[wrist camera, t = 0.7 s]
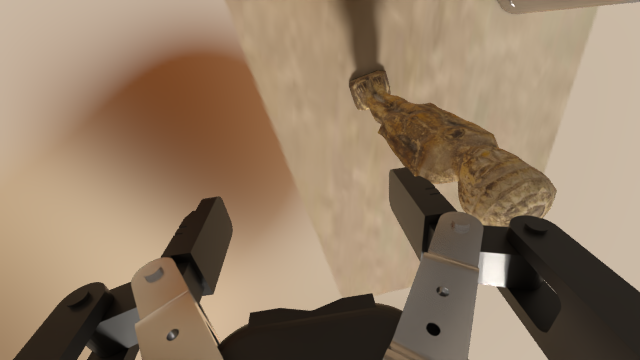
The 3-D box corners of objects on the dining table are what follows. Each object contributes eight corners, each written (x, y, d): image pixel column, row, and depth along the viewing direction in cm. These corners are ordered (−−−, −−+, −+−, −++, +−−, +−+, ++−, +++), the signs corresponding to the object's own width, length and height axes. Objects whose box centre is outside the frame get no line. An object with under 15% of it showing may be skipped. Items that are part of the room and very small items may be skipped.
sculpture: (386, 64, 37) (609, 125, 12) (396, 103, 41) (591, 221, 15) (343, 83, 38) (463, 183, 12) (356, 120, 41) (475, 264, 15)
